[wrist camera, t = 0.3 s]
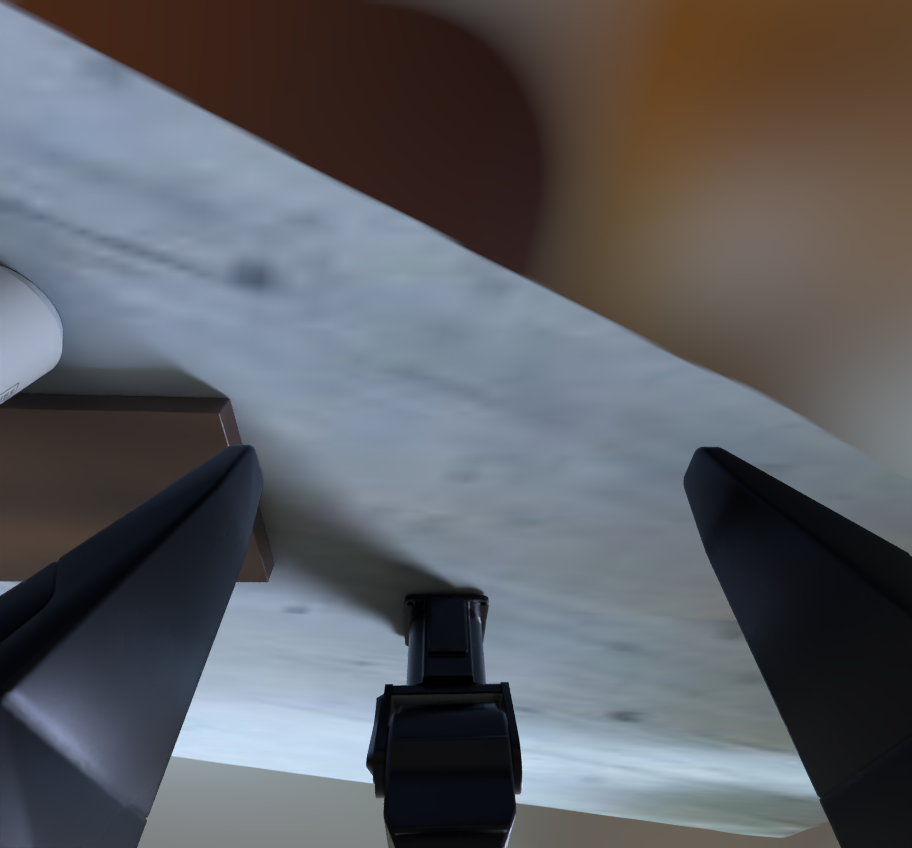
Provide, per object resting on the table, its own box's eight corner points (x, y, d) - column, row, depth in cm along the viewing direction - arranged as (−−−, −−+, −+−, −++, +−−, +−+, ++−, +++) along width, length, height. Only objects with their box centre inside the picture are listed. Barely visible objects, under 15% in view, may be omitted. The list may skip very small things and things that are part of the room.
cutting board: (274, 564, 33) (268, 582, 32) (-19, 563, 32) (-38, 581, 31) (230, 398, 25) (219, 413, 24) (-163, 388, 24) (-195, 403, 23)
